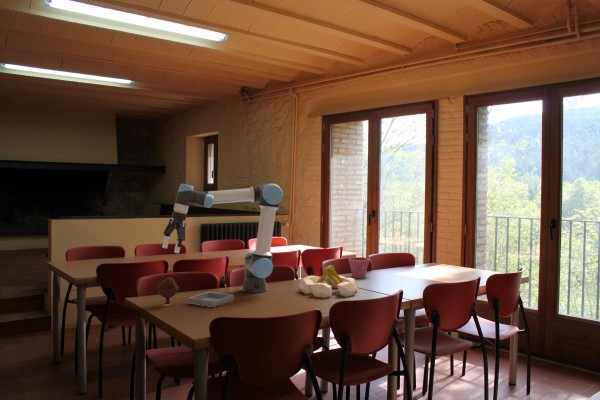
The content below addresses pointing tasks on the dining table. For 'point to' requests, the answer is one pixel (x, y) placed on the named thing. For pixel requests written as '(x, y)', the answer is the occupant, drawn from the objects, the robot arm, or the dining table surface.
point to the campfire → (328, 284)
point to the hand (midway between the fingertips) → (170, 250)
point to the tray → (211, 299)
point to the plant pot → (358, 267)
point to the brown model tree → (167, 288)
